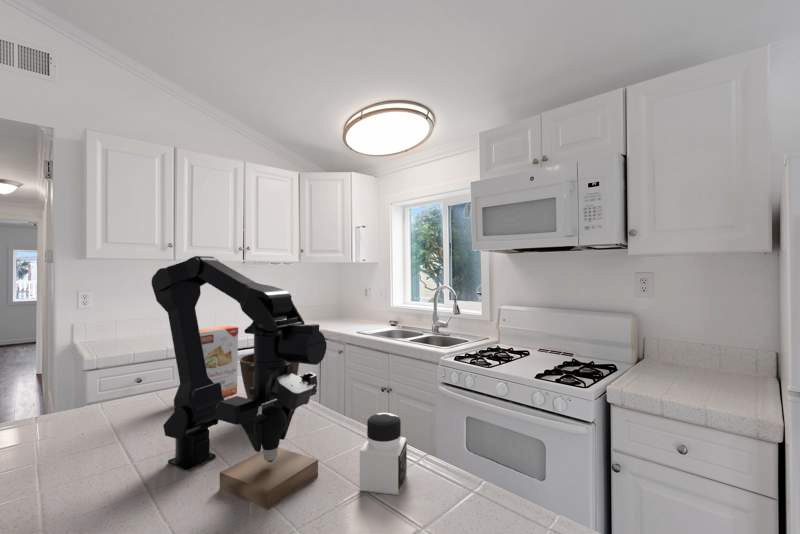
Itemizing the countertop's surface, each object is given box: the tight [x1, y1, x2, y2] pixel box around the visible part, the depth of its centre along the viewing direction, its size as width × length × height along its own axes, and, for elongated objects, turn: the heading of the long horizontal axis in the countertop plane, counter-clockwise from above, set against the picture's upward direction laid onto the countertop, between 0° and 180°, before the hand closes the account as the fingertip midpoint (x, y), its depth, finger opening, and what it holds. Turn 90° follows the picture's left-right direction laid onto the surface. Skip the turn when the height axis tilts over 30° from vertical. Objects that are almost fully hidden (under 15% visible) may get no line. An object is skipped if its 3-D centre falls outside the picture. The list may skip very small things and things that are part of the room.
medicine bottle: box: [359, 412, 408, 496], centre depth 72 cm, size 7×7×12 cm
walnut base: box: [219, 447, 319, 510], centre depth 72 cm, size 12×12×3 cm
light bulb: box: [261, 406, 287, 462], centre depth 72 cm, size 6×6×10 cm
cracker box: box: [199, 325, 239, 398], centre depth 119 cm, size 14×6×21 cm, turn 147°
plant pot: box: [239, 353, 300, 409], centre depth 103 cm, size 15×15×16 cm
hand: (270, 445), depth 72 cm, fingers closed on light bulb, 5 cm apart
